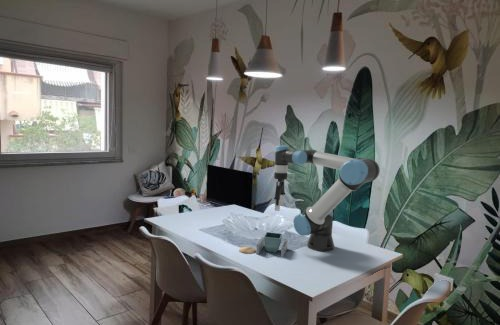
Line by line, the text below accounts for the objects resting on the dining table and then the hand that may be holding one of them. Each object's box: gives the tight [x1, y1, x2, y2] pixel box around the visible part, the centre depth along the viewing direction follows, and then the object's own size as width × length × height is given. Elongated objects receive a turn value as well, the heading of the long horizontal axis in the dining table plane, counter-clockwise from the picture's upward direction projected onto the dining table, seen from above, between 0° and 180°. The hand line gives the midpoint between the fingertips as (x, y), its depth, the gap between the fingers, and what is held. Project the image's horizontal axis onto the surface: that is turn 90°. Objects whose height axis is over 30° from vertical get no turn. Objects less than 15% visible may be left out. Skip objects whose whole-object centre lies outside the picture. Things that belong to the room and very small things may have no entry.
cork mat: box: [238, 246, 257, 255], centre depth 195 cm, size 9×9×1 cm
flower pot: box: [263, 231, 283, 253], centre depth 196 cm, size 9×9×9 cm
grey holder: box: [255, 236, 288, 258], centre depth 196 cm, size 14×14×5 cm
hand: (279, 208), depth 210 cm, fingers open, 13 cm apart
